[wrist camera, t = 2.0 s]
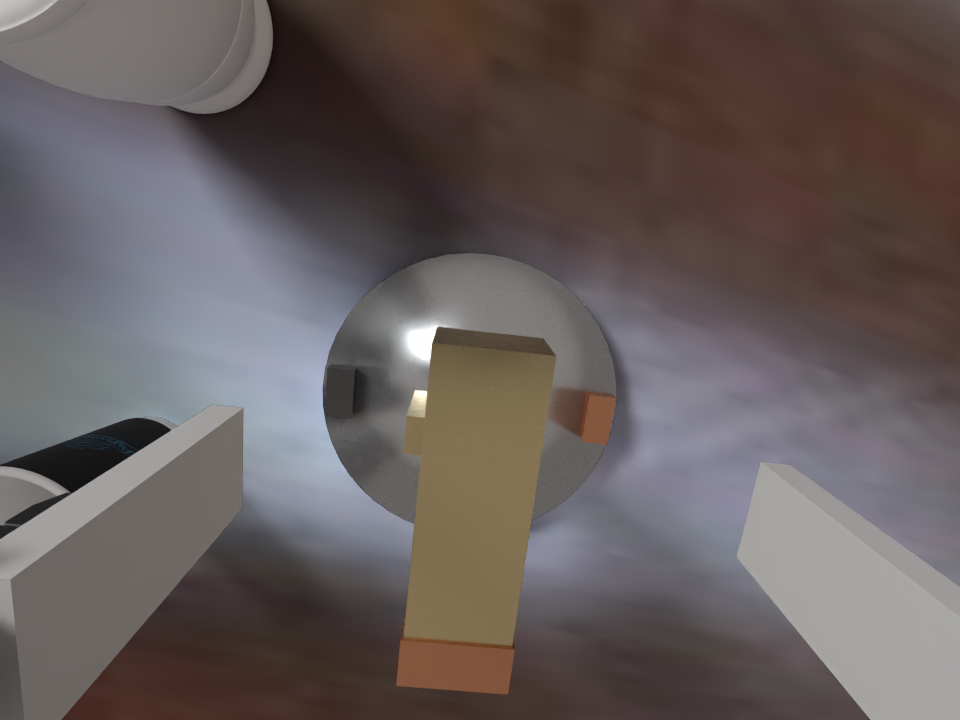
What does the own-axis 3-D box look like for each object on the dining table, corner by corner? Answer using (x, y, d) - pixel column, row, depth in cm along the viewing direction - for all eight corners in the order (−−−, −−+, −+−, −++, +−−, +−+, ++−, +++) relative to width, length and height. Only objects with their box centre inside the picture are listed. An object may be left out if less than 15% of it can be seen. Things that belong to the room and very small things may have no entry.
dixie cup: (175, 373, 33) (33, 440, 22) (239, 479, 34) (135, 589, 24) (67, 422, 33) (-123, 510, 23) (135, 523, 35) (-11, 650, 24)
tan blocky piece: (404, 509, 32) (363, 683, 19) (423, 294, 29) (390, 338, 16) (512, 519, 32) (539, 697, 20) (542, 307, 29) (596, 361, 17)
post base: (322, 508, 35) (277, 593, 27) (336, 235, 31) (288, 235, 23) (585, 533, 36) (620, 622, 28) (633, 270, 32) (691, 282, 24)
